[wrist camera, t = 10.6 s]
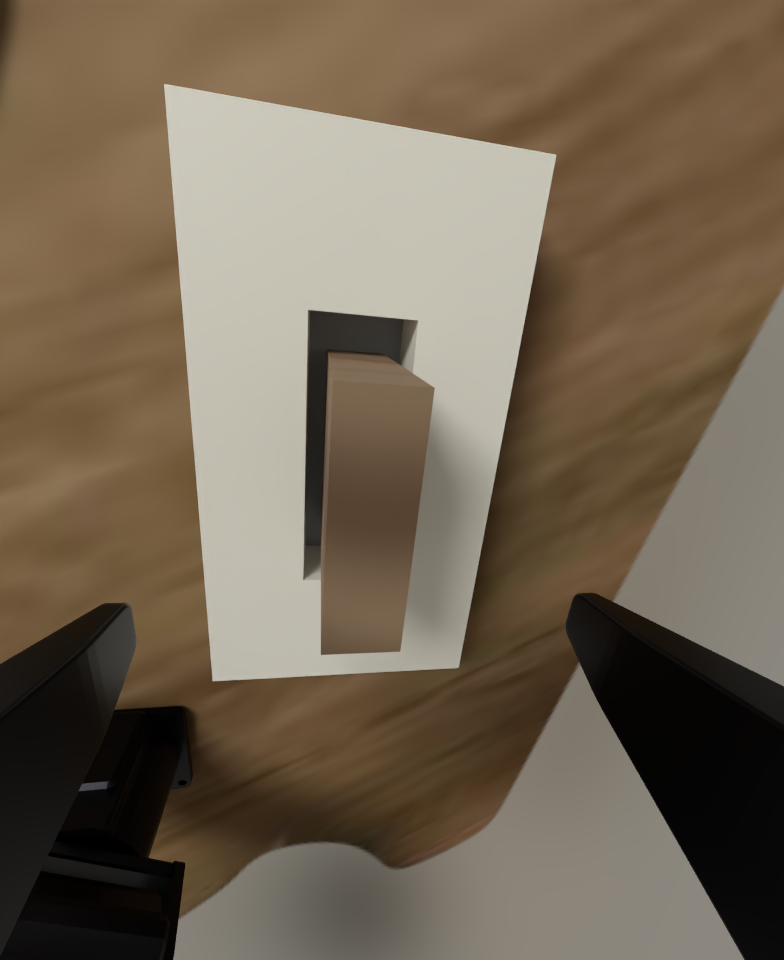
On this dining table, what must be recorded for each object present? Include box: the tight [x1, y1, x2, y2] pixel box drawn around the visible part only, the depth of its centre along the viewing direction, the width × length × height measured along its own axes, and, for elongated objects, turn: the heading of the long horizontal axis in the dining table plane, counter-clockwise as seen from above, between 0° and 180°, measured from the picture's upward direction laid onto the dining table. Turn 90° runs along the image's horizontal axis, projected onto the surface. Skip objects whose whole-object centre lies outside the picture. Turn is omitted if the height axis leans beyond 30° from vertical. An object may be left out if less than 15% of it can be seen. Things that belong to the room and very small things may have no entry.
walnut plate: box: [321, 349, 435, 655], centre depth 15 cm, size 8×2×9 cm, turn 175°
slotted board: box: [164, 84, 556, 681], centre depth 19 cm, size 22×12×4 cm, turn 175°
